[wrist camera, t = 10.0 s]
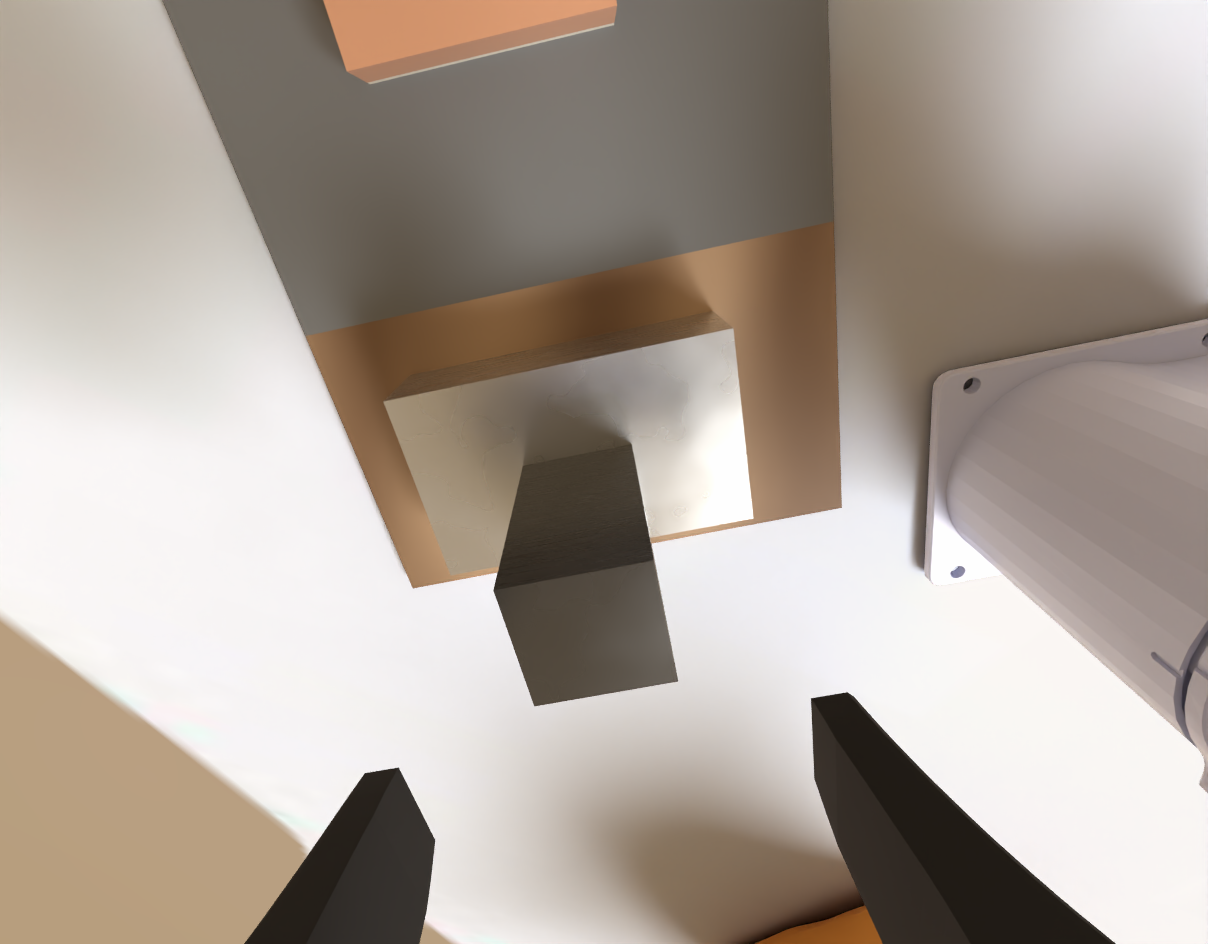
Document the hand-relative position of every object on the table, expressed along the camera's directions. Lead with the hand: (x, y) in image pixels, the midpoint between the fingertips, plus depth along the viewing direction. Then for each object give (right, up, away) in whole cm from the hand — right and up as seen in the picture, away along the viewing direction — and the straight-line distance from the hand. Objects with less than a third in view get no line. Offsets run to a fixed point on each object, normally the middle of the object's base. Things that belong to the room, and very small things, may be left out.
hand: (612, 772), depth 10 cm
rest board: (0, +7, +8) cm, 11 cm away
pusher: (-1, +7, +8) cm, 10 cm away
